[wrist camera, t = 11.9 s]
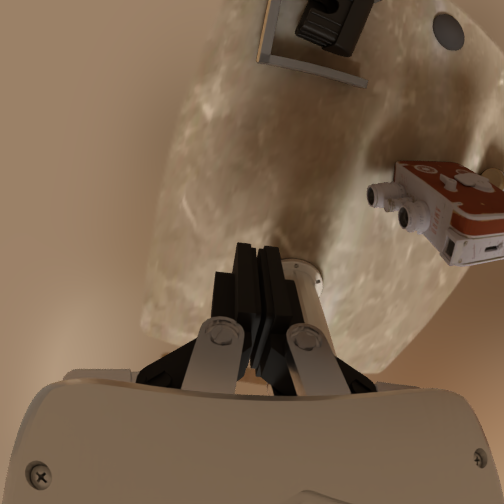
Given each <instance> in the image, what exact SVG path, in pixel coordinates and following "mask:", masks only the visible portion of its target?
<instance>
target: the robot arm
mask: <svg viewBox="0 0 504 504" xmlns="http://www.w3.org/2000/svg"><path fill="white" fill-rule="evenodd" d="M322 290H323V281H322V277H321V275H320V273H319V271H318V270H317V268H315V267H314V266H313V265H312V264H310V263H308V262H306V261H303V260H299V259H284V260H281V257H280V253H279V248H278V247H272V246H264V249H259V251H258V255H257V257H256V248H251V244H247V243H239V242H238V243H237V247H236V253H235V259H234V265H233V271H232V273H224V272H216V273H215V281H214V290H213V299H212V310H211V318H210V319H207V320H206V321H205V322H204V323H203V324H202V326H201V327H200V331H199V334H198V337H197V338H196V339H194V340H192V341H190V342H189V343H187V344H185V345H184V346H182V347H180V348H178V349H177V350H175V351H173V352H171V353H169V354H168V355H166V356H164V357H162V358H161V359H159V360H157V361H155V362H153V363H152V364H150V365H148V366H146V367H145V368H143V369H142V370H141V371H140V372H131V370H130V369H75V370H72V371H70V372H68V373H67V374H66V375H65V376H64V378H63V381H59V382H55V383H52V384H49V385H47V386H46V387H44V388H42V389H41V390H40V391H39V392H38V393H37V394H36V396H35V397H34V399H33V400H32V402H31V403H30V405H29V407H28V409H27V411H26V413H25V416H24V418H23V420H22V423H21V425H20V428H19V431H18V434H17V437H16V441H15V444H14V447H13V451H12V454H11V458H10V463H9V467H8V472H7V477H6V482H5V488H4V494H3V501H2V504H504V498H503V493H502V489H501V484H500V480H499V476H498V473H497V469H496V466H495V463H494V460H493V456H492V453H491V450H490V447H489V444H488V442H487V439H486V436H485V434H484V431H483V429H482V426H481V424H480V422H479V420H478V418H477V416H476V414H475V412H474V410H473V408H472V407H471V405H470V404H469V402H468V401H467V400H466V399H465V398H464V397H463V396H461V395H459V394H457V393H455V392H452V391H448V390H443V389H435V388H419V387H416V386H407V385H399V384H391V383H384V382H376V384H373V382H372V381H371V380H369V379H368V378H367V377H366V376H364V375H363V374H361V373H360V372H358V371H357V370H355V369H354V368H352V367H351V366H349V365H348V364H346V363H345V362H343V361H342V360H340V359H339V358H338V357H337V356H336V353H335V349H334V346H333V343H332V339H331V336H330V332H329V329H328V326H327V323H326V319H325V316H324V313H323V310H322V306H321V303H320V300H319V298H320V296H321V294H322ZM249 359H250V366H251V368H254V369H255V372H256V377H261V378H263V379H264V380H265V381H266V382H267V391H268V395H269V396H260V395H238V394H237V395H236V394H235V387H236V382H237V381H238V380H239V379H241V378H242V377H243V376H244V374H245V370H246V368H247V366H248V363H249Z"/></svg>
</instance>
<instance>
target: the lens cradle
mask: <svg viewBox="0 0 504 504" xmlns="http://www.w3.org/2000/svg"><path fill="white" fill-rule="evenodd" d="M379 1H381V0H375V1H374V3H377V2H379ZM280 4H281V0H268V4H267V9H266V14H265V19H264V24H263V29H262V34H261V39H260V44H259V49H258V54H257V59H256V62H258V63H260V64H266V65H271V66H277V67H282V68H287V69H291V70H296V71H300V72H305V73H309V74H313V75H317V76H321V77H325V78H328V79H332V80H336V81H339V82H342V83H346V84H349V85H352V86H356V87H360V88H367V83H368V80H366V79H363V78H360V77H357V76H354V75H350V74H347V73H344V72H341V71H337V70H334V69H330V68H327V67H323V66H319V65H315V64H311V63H307V62H303V61H299V60H294V59H290V58H285V57H280V56H275V55H270V54H271V49H272V44H273V39H274V34H275V29H276V24H277V19H278V14H279V9H280Z"/></svg>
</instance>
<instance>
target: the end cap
mask: <svg viewBox="0 0 504 504" xmlns="http://www.w3.org/2000/svg"><path fill="white" fill-rule="evenodd" d="M374 1H375V0H309V1H308V4H307V6H306V8H305V10H304V13H303V15H302V17H301V19H300V22H299V24H298V26H297V29H296V31H295V34H296V36H298V37H300V38H303V39H305V40H308V41H310V42H312V43H315V44H317V45H319V46H321V47H322V49H323V50H325V51H328V52H331V53H333V54H336V55H340V56H344V57H350V56H352V53H353V51H354V49H355V46H356V44H357V42H358V39H359V37H360V34H361V32H362V30H363V27H364V25H365V22H366V20H367V18H368V15H369V13H370V11H371V8H372V6H373V3H374Z"/></svg>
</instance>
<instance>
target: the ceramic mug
mask: <svg viewBox="0 0 504 504" xmlns="http://www.w3.org/2000/svg"><path fill="white" fill-rule="evenodd" d="M481 176H483V177H485V178H488V179H489V182H490V183H492V184H493V185H495V186H496V187H498V188H499V189H501V190H502V191H504V173H503V172H502V171H500V170H499V169H496V168H490V169H487V170H486V171H484V172H483V173H482V175H481Z"/></svg>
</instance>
